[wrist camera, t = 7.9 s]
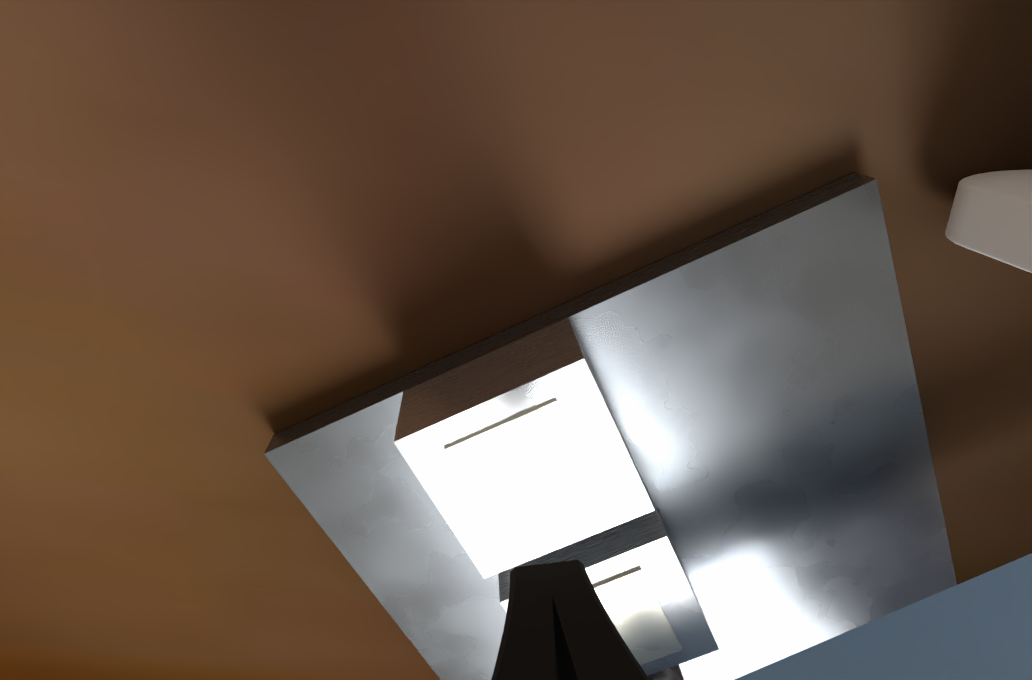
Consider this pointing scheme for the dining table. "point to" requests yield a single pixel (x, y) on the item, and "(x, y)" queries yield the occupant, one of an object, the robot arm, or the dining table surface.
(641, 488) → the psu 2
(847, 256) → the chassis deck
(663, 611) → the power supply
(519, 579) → the robot arm
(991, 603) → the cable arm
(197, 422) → the dining table surface
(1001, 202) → the cable organizer
